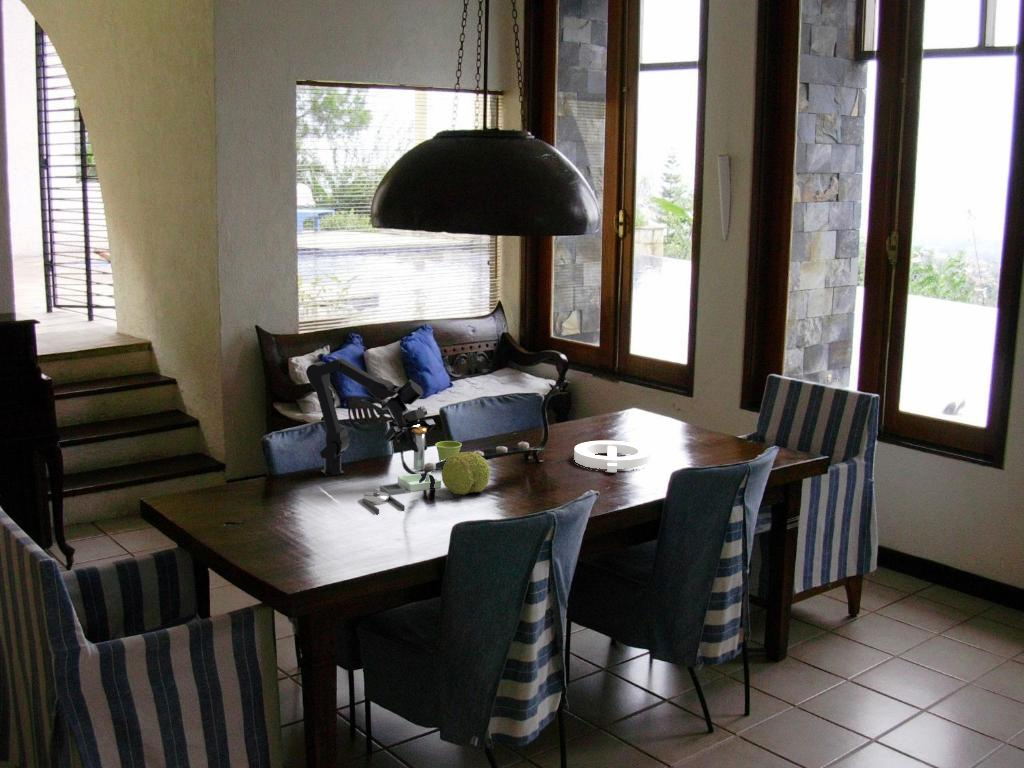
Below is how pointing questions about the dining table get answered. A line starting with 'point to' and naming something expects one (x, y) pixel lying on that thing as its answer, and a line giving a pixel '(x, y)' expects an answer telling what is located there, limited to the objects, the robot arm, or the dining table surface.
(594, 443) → the ring with crossbar
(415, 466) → the lock pin
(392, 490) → the tensioner base
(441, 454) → the plant pot
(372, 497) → the grey forked bracket
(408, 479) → the tray
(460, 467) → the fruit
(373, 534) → the dining table surface
